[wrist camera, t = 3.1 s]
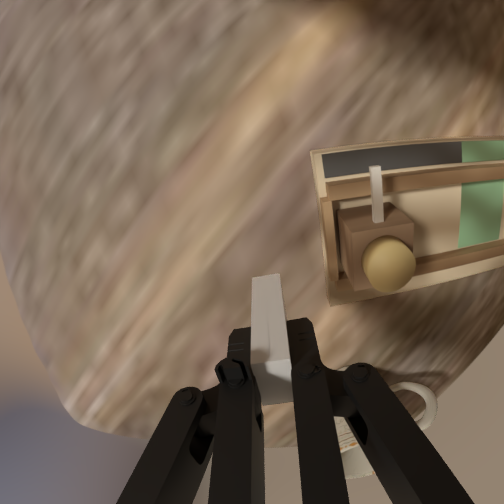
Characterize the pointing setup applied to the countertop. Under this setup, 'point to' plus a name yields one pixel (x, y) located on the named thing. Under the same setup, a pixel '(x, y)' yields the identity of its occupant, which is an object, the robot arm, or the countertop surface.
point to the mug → (351, 450)
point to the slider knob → (376, 242)
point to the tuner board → (418, 205)
